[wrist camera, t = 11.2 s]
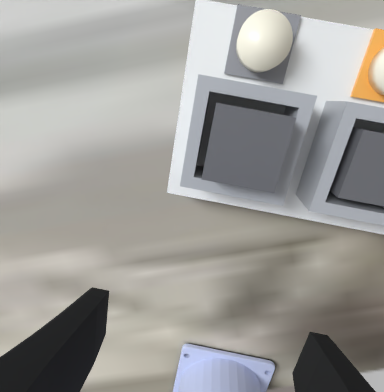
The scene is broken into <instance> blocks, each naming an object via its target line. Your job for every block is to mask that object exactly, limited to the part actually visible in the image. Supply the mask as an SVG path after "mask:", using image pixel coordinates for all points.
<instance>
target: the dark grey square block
mask: <svg viewBox="0 0 384 392" xmlns="http://www.w3.org/2000/svg"><path fill="white" fill-rule="evenodd" d="M330 192H332V193H333V194H334V195H335V196H336V197H338V198H342V199H347V200H353V201H358V202H363V203H368V204H374V205H379V206H384V132H378V131H373V130H367V129H362V128H356V127H353V128H352V131H351V134H350V136H349V139H348V142H347V145H346V147H345V150H344V153H343V155H342V158H341V161H340V163H339V166H338V169H337V172H336V174H335V177H334V180H333V182H332V185H331V188H330Z"/></svg>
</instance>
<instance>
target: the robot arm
mask: <svg viewBox="0 0 384 392" xmlns="http://www.w3.org/2000/svg"><path fill="white" fill-rule="evenodd" d="M108 298H109V291H107V290H102V289H97V288H91V289H89V290H88V291H87V292H86V293H84V294H83V295H82V296H81V297H80V298H78V299H77V300H76V301H75V302H74V303H72V304H71V305H70V306H69V307H67V308H66V309H65V310H64V311H63V312H61V313H60V314H59V315H58V316H56V317H55V318H54V319H52V320H51V321H50V322H48V323H47V324H46V325H45V326H43V327H42V328H41V329H39V330H38V331H37V332H35V333H34V334H33V335H31V336H30V337H28V338H27V339H25V340H24V341H23V342H21V343H20V344H18V345H17V346H16V347H14V348H13V349H11V350H10V351H8V352H7V353H6V354H4V355H3V356H1V357H0V392H80V390H81V388H82V386H83V384H84V382H85V380H86V378H87V376H88V374H89V372H90V370H91V368H92V366H93V364H94V362H95V360H96V357H97V355H98V352H99V350H100V347H101V345H102V342H103V339H104V337H105V334H106V322H107V310H108ZM267 370H268V371H267ZM274 370H275V365H274V363H273V362H272V361H270V360H265V359H260V358H255V357H251V356H246V355H241V354H236V353H231V352H226V351H222V350H217V349H212V348H207V347H202V346H197V345H193V344H184V345H183V347H182V351H181V355H180V360H179V365H178V369H177V374H176V379H175V383H174V388H173V392H266V391H267V388H268V386H269V383H270V381H271V378H272V375H273V373H274ZM293 380H294V387H295V392H375V390H374V389H373V388H372V387H371V386H370V385H369V384H368V382H367V381H366V380H365V379H364V378H363V376H362V375H361V374H360V373H359V372H358V370H357V369H356V368H355V367H354V366H353V365H352V363H351V362H350V361H349V360H348V359H347V357H346V356H345V355H344V354H343V353H342V351H341V350H340V349H339V348H338V347H337V346H336V344H335V343H334V342H333V341H332V340H331V339H330V338H329V337H328V335H323V334H318V333H313V332H310V333H309V336H308V338H307V340H306V343H305V345H304V347H303V350H302V352H301V354H300V357H299V359H298V361H297V364H296V366H295V368H294V371H293Z"/></svg>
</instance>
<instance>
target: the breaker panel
mask: <svg viewBox="0 0 384 392" xmlns="http://www.w3.org/2000/svg"><path fill="white" fill-rule="evenodd" d="M216 102H219V103H225V104H230V105H235V106H241V107H246V108H252V109H257V110H262V111H268V112H273V113H279V114H284V115H288V116H292V117H296V122H295V125H294V129H293V132H292V135H291V139H290V142H289V145H288V149H287V152H286V156H285V159H284V162H283V166H282V169H281V172H280V176H279V179H278V183H277V186H276V189H275V193H269V192H264V191H259V190H254V189H248V188H243V187H238V186H233V185H228V184H222V183H217V182H212V181H207V180H201V179H202V174H203V169H204V164H205V159H206V153H207V148H208V143H209V138H210V133H211V127H212V122H213V117H214V112H215V107H216ZM353 127H356V128H362V129H367V130H373V131H378V132H384V30H382V29H368V28H362V27H356V26H351V25H345V24H339V23H334V22H328V21H322V20H317V19H311V18H305V17H301V15H296V14H291V13H285V12H279V11H276V10H273V9H262V8H256V7H251V6H245V5H239V4H238V5H231V4H226V3H220V2H214V1H209V0H196V2H195V9H194V15H193V22H192V29H191V35H190V42H189V49H188V55H187V62H186V69H185V76H184V82H183V89H182V96H181V102H180V109H179V116H178V122H177V129H176V136H175V142H174V149H173V156H172V162H171V169H170V176H169V183H168V189H167V193H172V194H177V195H182V196H187V197H192V198H198V199H203V200H208V201H213V202H218V203H223V204H228V205H234V206H239V207H244V208H249V209H254V210H259V211H265V212H270V213H275V214H280V215H285V216H290V217H295V218H301V219H306V220H311V221H316V222H321V223H326V224H332V225H337V226H342V227H347V228H352V229H357V230H363V231H368V232H373V233H378V234H383V235H384V206H379V205H374V204H368V203H363V202H358V201H353V200H347V199H342V198H338V197H336V196H335V195H334V194H333V193H332V192H330V188H331V185H332V182H333V180H334V177H335V174H336V172H337V169H338V166H339V163H340V161H341V158H342V155H343V153H344V150H345V147H346V145H347V142H348V139H349V136H350V134H351V131H352V128H353Z"/></svg>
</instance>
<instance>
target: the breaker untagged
mask: <svg viewBox="0 0 384 392" xmlns="http://www.w3.org/2000/svg"><path fill="white" fill-rule="evenodd" d="M295 122H296V117H292V116H288V115H284V114H279V113H273V112H268V111H262V110H257V109H252V108H246V107H241V106H235V105H230V104H225V103H219V102H216V107H215V112H214V117H213V122H212V127H211V133H210V138H209V143H208V148H207V153H206V159H205V164H204V169H203V174H202V179H201V180H207V181H212V182H217V183H222V184H228V185H233V186H238V187H243V188H248V189H254V190H259V191H264V192H269V193H275V189H276V186H277V183H278V179H279V176H280V172H281V169H282V166H283V162H284V159H285V156H286V152H287V149H288V145H289V142H290V139H291V135H292V132H293V129H294V125H295Z"/></svg>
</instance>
